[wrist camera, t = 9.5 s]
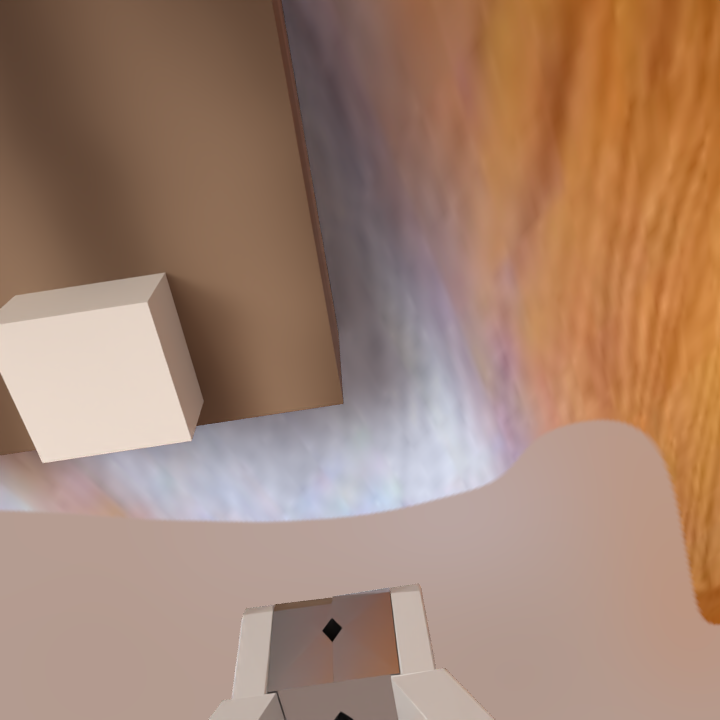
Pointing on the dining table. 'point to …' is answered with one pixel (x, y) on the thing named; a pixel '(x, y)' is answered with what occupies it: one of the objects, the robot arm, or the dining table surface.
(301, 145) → the brown box sleeve
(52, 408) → the white tile
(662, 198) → the dining table surface
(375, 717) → the robot arm
